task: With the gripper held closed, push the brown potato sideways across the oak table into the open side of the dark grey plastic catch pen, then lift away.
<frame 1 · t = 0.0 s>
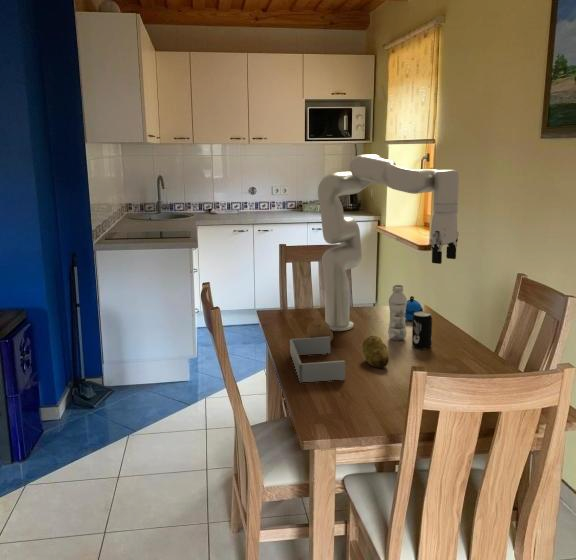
hand: (444, 260, 184), 31 cm above the table, tool pointing down, fingers open, 9 cm apart
natural sponge: (319, 346, 200), on the table
plastic bottle: (397, 340, 204), on the table
beverage can: (421, 347, 196), on the table
potato: (375, 363, 182), on the table
ornament: (411, 320, 227), on the table
catch pen: (316, 367, 180), on the table
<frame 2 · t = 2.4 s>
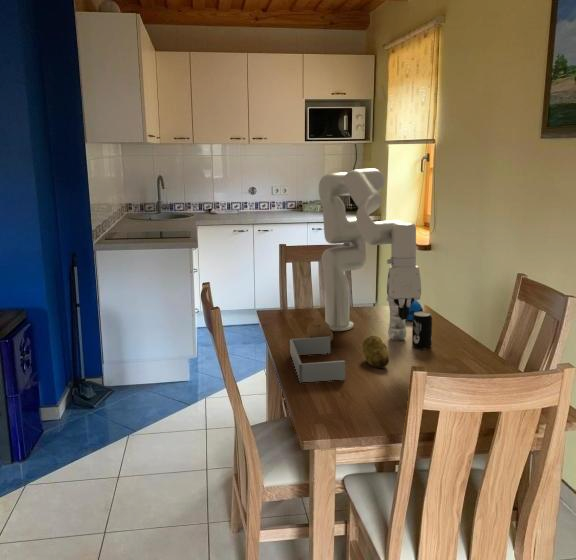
hand: (403, 318, 179), 15 cm above the table, tool pointing down, fingers closed
nothing on the table moved.
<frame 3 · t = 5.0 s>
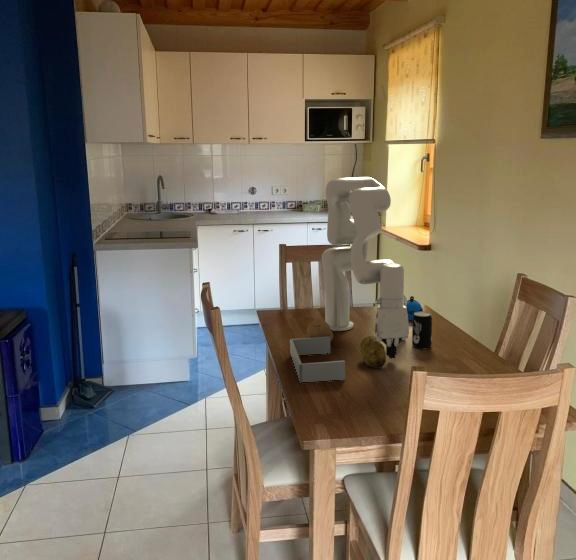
hand: (391, 357, 182), 2 cm above the table, tool pointing down, fingers closed
potato: (372, 363, 182), on the table, touching gripper
everything else where it was.
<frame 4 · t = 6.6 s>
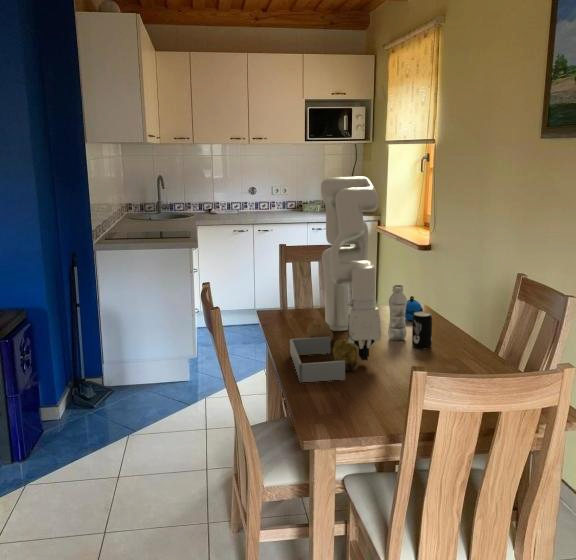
hand: (363, 358, 181), 2 cm above the table, tool pointing down, fingers closed
potato: (345, 366, 180), on the table, touching gripper
everything else where it was.
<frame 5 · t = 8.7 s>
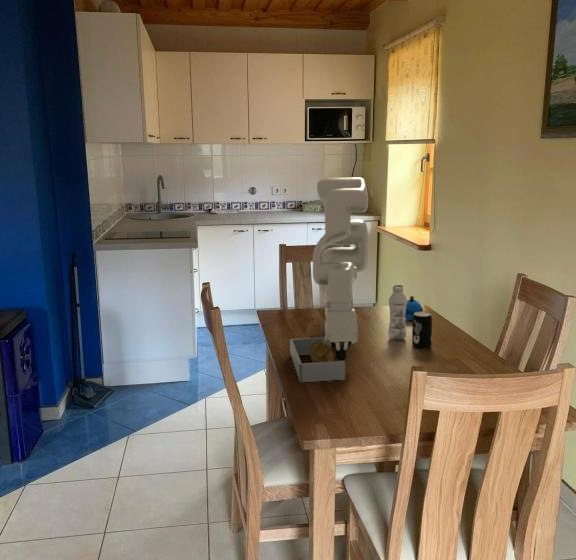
hand: (341, 360, 180), 2 cm above the table, tool pointing down, fingers closed
potato: (322, 368, 180), on the table, touching gripper
everything else where it was.
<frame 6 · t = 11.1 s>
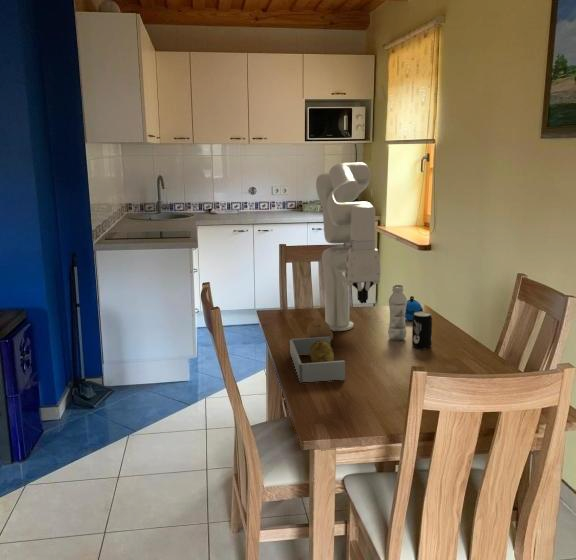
hand: (362, 301, 177), 21 cm above the table, tool pointing down, fingers closed
potato: (322, 368, 180), on the table
everything else where it was.
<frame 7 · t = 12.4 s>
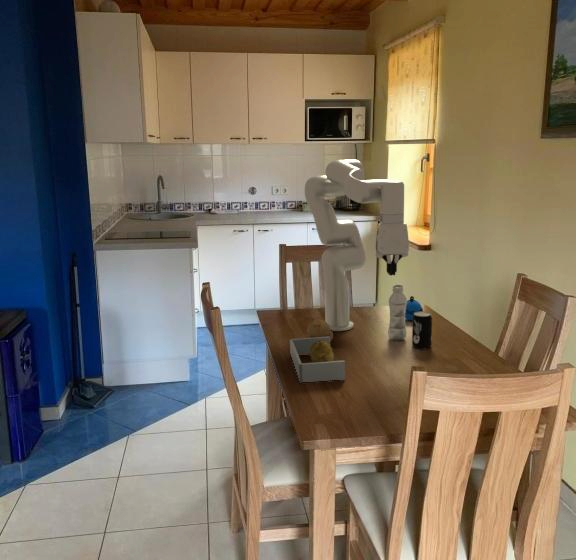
hand: (391, 274, 186), 27 cm above the table, tool pointing down, fingers closed
nothing on the table moved.
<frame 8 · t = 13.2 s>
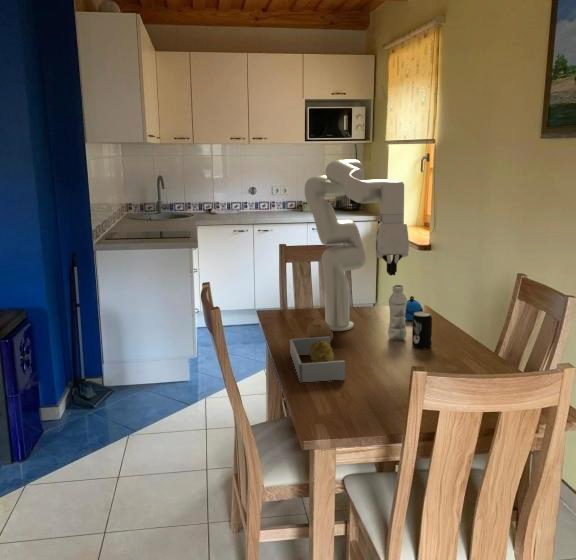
hand: (391, 274, 186), 27 cm above the table, tool pointing down, fingers closed
nothing on the table moved.
at the end: potato inside the target area on the catch pen (2.8 cm from its centre), point 0.0 cm above the catch pen's base; potato moved 17.5 cm from its start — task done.
